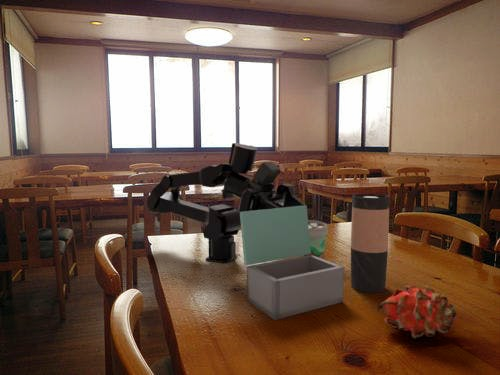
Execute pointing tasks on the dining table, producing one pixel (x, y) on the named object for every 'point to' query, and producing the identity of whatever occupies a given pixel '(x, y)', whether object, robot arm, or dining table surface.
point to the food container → (317, 238)
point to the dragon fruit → (418, 311)
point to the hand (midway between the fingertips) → (297, 212)
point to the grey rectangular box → (294, 285)
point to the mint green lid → (274, 234)
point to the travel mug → (369, 242)
